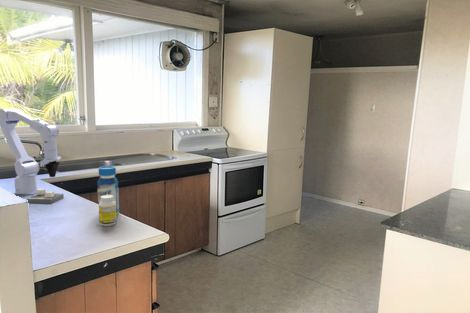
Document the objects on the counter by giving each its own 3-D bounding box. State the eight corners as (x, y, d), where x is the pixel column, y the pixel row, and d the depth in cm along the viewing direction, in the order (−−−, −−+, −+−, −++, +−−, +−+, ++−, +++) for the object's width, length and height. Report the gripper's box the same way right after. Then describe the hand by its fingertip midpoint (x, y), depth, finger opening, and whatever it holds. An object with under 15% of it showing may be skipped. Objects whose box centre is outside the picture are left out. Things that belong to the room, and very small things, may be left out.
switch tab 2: (45, 197, 167) (44, 192, 166) (48, 195, 169) (48, 191, 169) (51, 197, 166) (51, 192, 166) (54, 196, 169) (54, 191, 168)
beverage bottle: (123, 212, 154) (122, 166, 151) (109, 217, 146) (107, 170, 143) (108, 209, 157) (106, 164, 154) (94, 215, 149) (91, 168, 146)
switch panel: (27, 202, 166) (26, 198, 166) (40, 196, 176) (40, 192, 176) (51, 203, 165) (51, 199, 165) (63, 197, 175) (63, 193, 175)
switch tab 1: (36, 194, 171) (36, 190, 171) (39, 193, 174) (39, 188, 173) (42, 194, 171) (42, 190, 171) (45, 193, 173) (45, 189, 173)
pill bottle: (102, 221, 142) (101, 194, 140) (118, 220, 143) (117, 194, 141) (97, 226, 136) (96, 198, 134) (114, 226, 137) (113, 198, 135)
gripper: (49, 152, 168) (51, 180, 170) (66, 148, 183) (68, 174, 185) (35, 151, 169) (37, 179, 171) (53, 147, 183) (55, 173, 185)
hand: (52, 176), depth 178 cm, fingers closed
